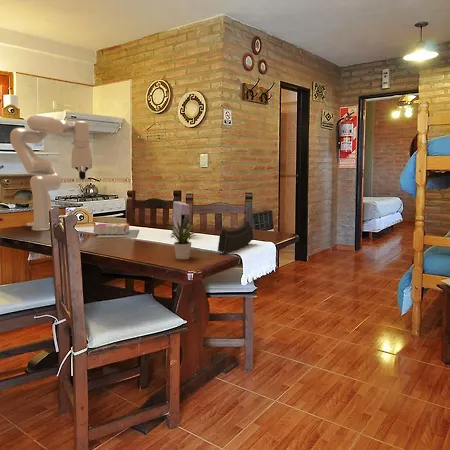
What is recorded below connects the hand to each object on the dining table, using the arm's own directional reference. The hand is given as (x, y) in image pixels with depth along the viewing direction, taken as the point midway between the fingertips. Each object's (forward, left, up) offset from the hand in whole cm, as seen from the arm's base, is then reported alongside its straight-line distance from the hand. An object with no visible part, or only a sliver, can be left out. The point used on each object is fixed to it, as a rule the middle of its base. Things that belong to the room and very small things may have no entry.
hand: (82, 179), depth 240 cm
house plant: (+50, -72, -30) cm, 92 cm away
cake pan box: (+52, -14, -30) cm, 62 cm away
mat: (+19, -6, -29) cm, 35 cm away
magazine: (+76, -53, -30) cm, 97 cm away
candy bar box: (+7, -6, -26) cm, 28 cm away
